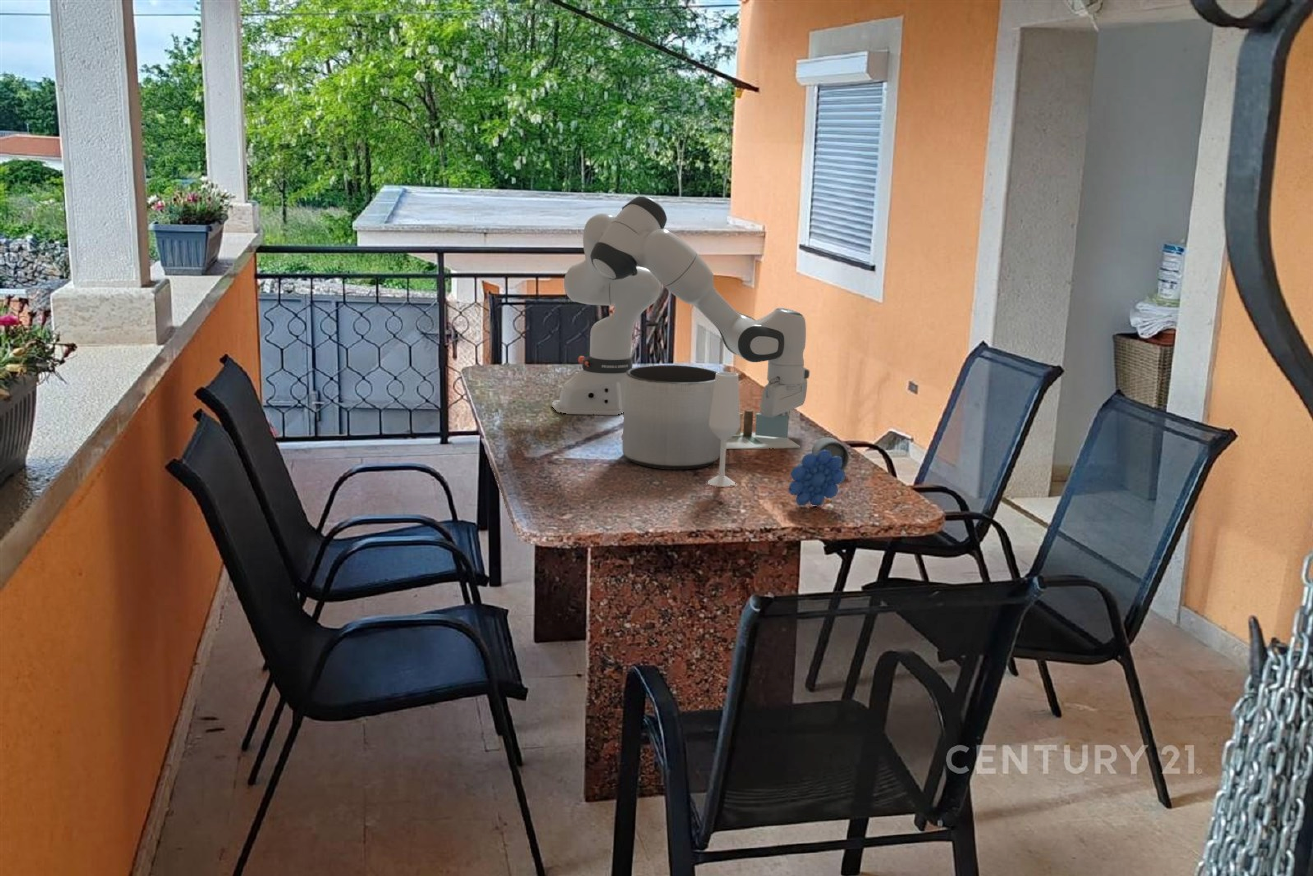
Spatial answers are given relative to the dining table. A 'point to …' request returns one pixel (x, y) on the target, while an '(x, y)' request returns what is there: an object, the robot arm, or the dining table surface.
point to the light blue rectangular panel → (772, 426)
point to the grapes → (816, 478)
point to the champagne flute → (724, 417)
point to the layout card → (759, 442)
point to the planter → (669, 417)
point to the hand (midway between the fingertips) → (781, 428)
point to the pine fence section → (746, 423)
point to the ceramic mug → (831, 450)
